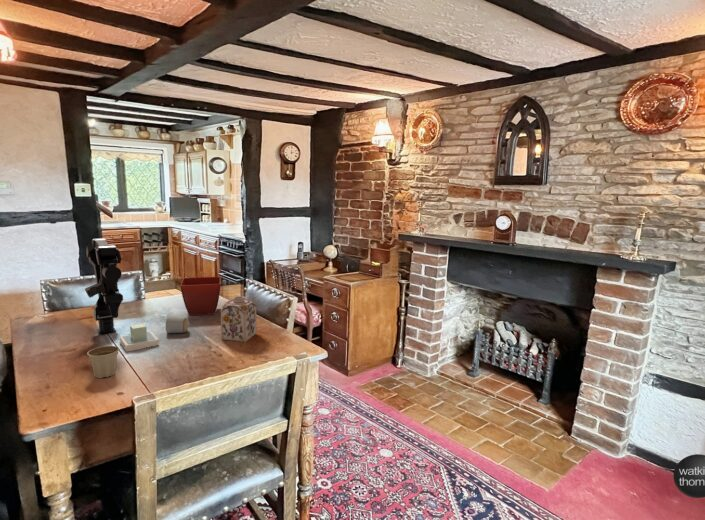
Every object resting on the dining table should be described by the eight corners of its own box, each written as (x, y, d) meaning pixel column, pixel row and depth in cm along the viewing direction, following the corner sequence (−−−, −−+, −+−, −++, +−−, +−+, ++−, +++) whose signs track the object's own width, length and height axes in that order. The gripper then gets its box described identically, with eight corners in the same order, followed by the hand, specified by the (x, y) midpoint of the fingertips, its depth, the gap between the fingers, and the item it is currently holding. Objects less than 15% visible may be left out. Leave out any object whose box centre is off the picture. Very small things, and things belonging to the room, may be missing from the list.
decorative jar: (245, 342, 176) (245, 301, 173) (220, 340, 178) (219, 299, 175) (257, 333, 187) (257, 295, 184) (233, 331, 190) (233, 293, 187)
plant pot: (184, 307, 224) (183, 277, 221) (221, 306, 230) (220, 276, 227) (181, 318, 206) (179, 285, 203) (221, 316, 212) (220, 283, 209)
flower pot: (97, 368, 147) (96, 345, 145) (125, 368, 148) (124, 345, 146) (83, 380, 138) (81, 356, 136) (112, 380, 138) (111, 356, 137)
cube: (130, 337, 171) (130, 325, 170) (144, 334, 174) (143, 323, 173) (133, 340, 167) (132, 328, 166) (146, 338, 170) (146, 326, 169)
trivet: (120, 342, 172) (119, 336, 171) (151, 336, 179) (150, 330, 179) (126, 351, 163) (125, 345, 162) (158, 345, 170) (158, 338, 170)
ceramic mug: (184, 335, 183) (184, 318, 182) (165, 335, 182) (164, 318, 181) (190, 327, 193) (190, 311, 192) (172, 327, 192) (171, 311, 191)
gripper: (82, 274, 170) (85, 311, 173) (89, 283, 156) (92, 323, 159) (113, 272, 177) (115, 307, 180) (122, 280, 163) (124, 318, 166)
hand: (111, 313), depth 171 cm, fingers open, 9 cm apart
